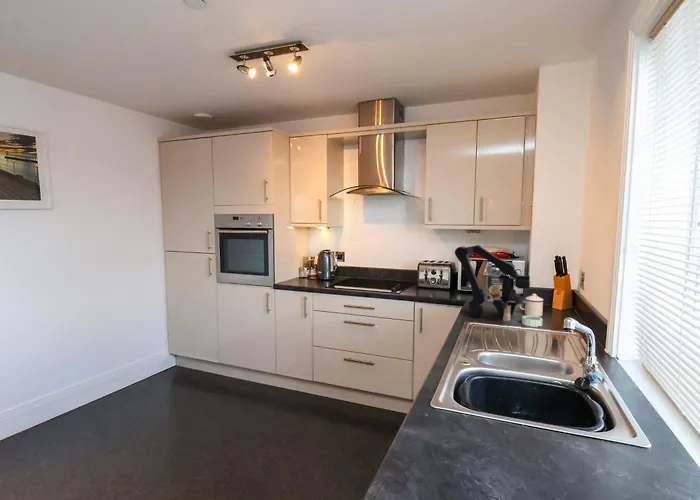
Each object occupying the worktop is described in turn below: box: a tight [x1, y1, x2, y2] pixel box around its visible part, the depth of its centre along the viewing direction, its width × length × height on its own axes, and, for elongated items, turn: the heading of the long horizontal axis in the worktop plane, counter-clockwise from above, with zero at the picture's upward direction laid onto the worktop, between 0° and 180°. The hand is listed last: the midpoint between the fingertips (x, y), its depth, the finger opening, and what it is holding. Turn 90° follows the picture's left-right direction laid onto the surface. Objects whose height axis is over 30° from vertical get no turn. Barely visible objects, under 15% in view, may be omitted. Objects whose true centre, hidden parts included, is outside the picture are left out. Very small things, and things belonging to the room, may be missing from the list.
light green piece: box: [521, 315, 543, 328], centre depth 188 cm, size 9×9×3 cm
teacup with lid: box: [518, 293, 544, 318], centre depth 206 cm, size 12×9×12 cm
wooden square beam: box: [502, 304, 511, 322], centre depth 195 cm, size 2×2×8 cm
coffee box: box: [485, 274, 502, 303], centre depth 239 cm, size 9×6×16 cm
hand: (506, 316), depth 195 cm, fingers open, 9 cm apart
